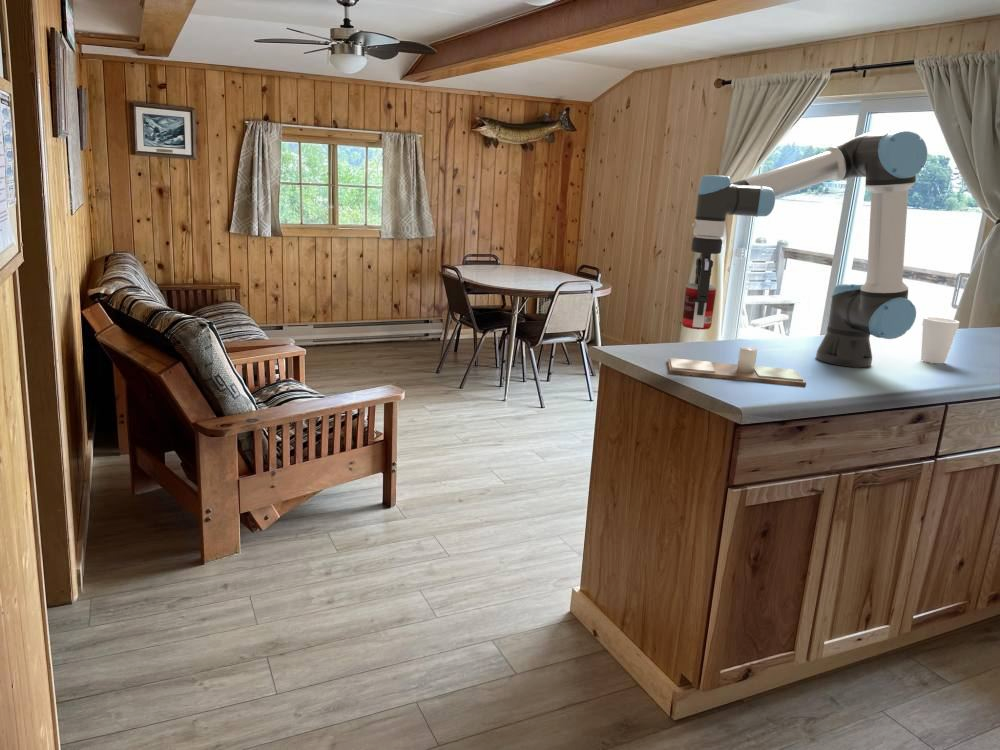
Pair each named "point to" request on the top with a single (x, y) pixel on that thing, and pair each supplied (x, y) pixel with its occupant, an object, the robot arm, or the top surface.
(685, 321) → the canned food
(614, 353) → the top surface
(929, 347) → the foam cup
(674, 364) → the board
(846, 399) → the top surface
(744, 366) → the ceramic post
